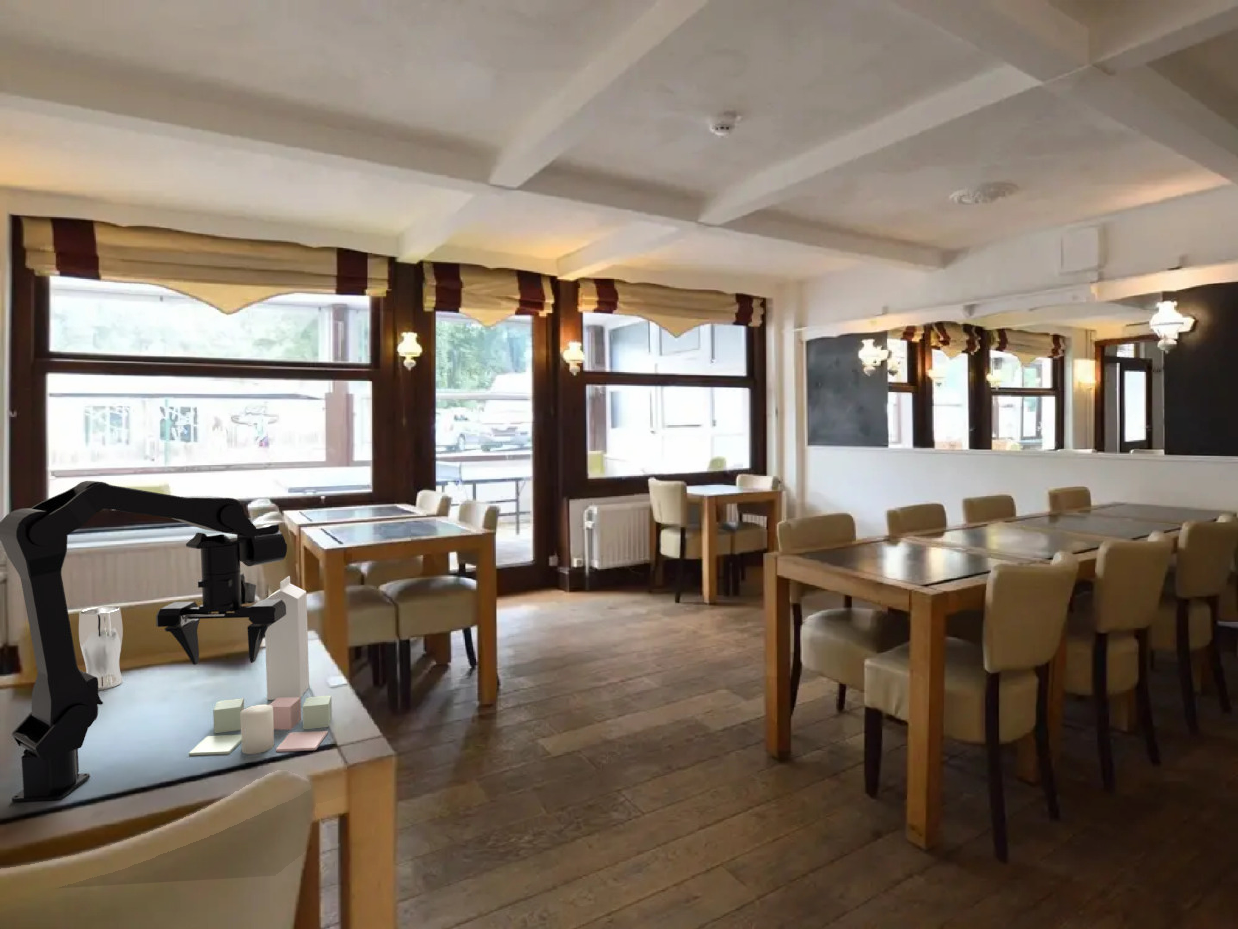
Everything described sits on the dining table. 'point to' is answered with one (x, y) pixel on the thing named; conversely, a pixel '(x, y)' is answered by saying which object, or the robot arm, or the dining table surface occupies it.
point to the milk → (288, 645)
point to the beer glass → (102, 643)
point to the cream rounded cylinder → (257, 729)
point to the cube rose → (286, 712)
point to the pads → (290, 743)
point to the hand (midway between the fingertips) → (224, 663)
